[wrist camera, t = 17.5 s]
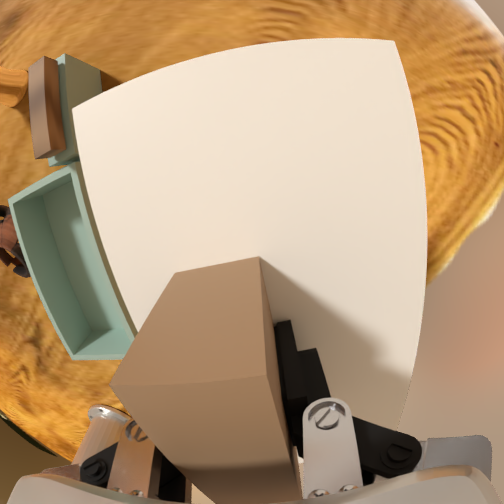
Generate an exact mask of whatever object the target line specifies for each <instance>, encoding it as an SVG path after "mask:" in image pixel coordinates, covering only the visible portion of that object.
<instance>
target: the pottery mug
mask: <svg viewBox="0 0 504 504" xmlns="http://www.w3.org/2000/svg"><path fill="white" fill-rule="evenodd" d="M0 216H2V217H4V219H3V220H0V260H1V261H2V262H3V263H4V264H5V265H6V266H7V267H8V266H9V265H10V263H12V264H14V265H15V266H16V267H15V268H14V269H13V271H14V272H15V273H16V274H18V275H20V276H22V277H26V278H27V277H30V276H31V275H30V272H29V269H28V267H27V264H26V261H25V258H24V256H23V253H22V250H21V246H20V243H17V242H18V237H17V233H16V230H15V226H14V223H13V219H12V215H11V211H10V208H9V207H7V206H3V205H0ZM5 249H6V250H8V251H9V252H11V253H12V254H13V255H14V256H16V257H15V258H13V257H11V256H10V255H9V254H8V253H7V252H6V251H5Z"/></svg>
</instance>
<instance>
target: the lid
mask: <svg viewBox="0 0 504 504" xmlns="http://www.w3.org/2000/svg"><path fill="white" fill-rule="evenodd" d="M72 113H73V120H74V127H75V134H76V140H77V145H78V151H79V156H80V161H81V166H82V171H83V175H84V179H85V184H86V188H87V192H88V196H89V200H90V203H91V207H92V211H93V214H94V218H95V221H96V224H97V228H98V231H99V234H100V237H101V240H102V244H103V247H104V250H105V252H106V255H107V258H108V261H109V264H110V267H111V269H112V272H113V275H114V277H115V280H116V282H117V285H118V288H119V290H120V293H121V295H122V297H123V300H124V302H125V305H126V307H127V309H128V312H129V314H130V316H131V318H132V321H133V323H134V325H135V327H136V329H137V331H138V334H137V335H136V337H135V339H134V341H133V342H132V344H131V346H130V348H129V349H128V351H127V353H126V355H125V356H124V358H123V360H122V362H121V364H120V365H119V367H118V369H117V371H116V373H115V374H114V376H113V378H112V380H111V382H110V384H109V386H110V387H111V389H112V390H113V392H114V393H115V395H116V396H117V397H118V399H119V400H120V402H121V403H122V404H123V406H124V407H125V408H126V410H127V411H128V412H129V414H130V415H131V416H132V418H133V419H134V420H135V422H136V423H137V424H138V425H139V427H140V428H141V429H142V430H143V431H144V433H145V434H146V435H147V436H148V437H149V439H150V440H151V441H152V442H153V443H154V444H155V445H156V447H157V448H158V449H159V450H160V451H161V452H162V453H163V454H164V455H165V457H166V458H167V459H168V460H169V461H170V462H171V463H172V464H173V465H174V466H175V467H176V468H177V469H178V470H179V471H180V472H181V473H182V474H183V475H184V476H185V477H186V478H187V479H188V480H189V481H190V482H191V483H193V484H194V485H195V486H196V487H197V488H198V489H199V490H200V491H201V492H203V493H204V494H205V495H206V496H207V497H208V498H209V499H211V500H212V501H213V502H214V503H215V504H270V503H280V502H289V501H296V500H303V497H302V489H301V481H300V472H299V465H298V463H304V459H303V458H301V457H299V456H298V452H297V447H296V446H294V447H293V444H292V440H291V436H290V432H289V428H288V423H287V419H286V415H285V411H284V407H283V402H282V396H281V387H280V378H279V370H278V361H277V352H276V343H275V335H274V326H277V322H281V321H286V320H291V323H292V328H293V333H294V337H295V342H296V346H297V351H302V350H307V349H311V348H316V349H317V351H318V355H319V358H320V361H321V364H322V368H323V371H324V374H325V378H326V381H327V384H328V388H329V391H330V395H331V398H336V399H340V400H342V401H344V402H345V403H346V404H347V405H348V406H349V408H350V410H351V415H352V416H354V417H357V418H359V419H362V420H365V421H368V422H371V423H373V424H376V425H379V426H382V427H385V428H388V429H391V430H394V431H397V428H398V425H399V422H400V418H401V415H402V412H403V408H404V405H405V401H406V398H407V394H408V390H409V386H410V382H411V378H412V373H413V369H414V364H415V358H416V354H417V348H418V343H419V337H420V330H421V323H422V315H423V307H424V297H425V285H426V269H427V207H426V191H425V180H424V170H423V161H422V154H421V147H420V140H419V134H418V129H417V123H416V118H415V113H414V109H413V104H412V100H411V96H410V92H409V88H408V84H407V80H406V77H405V73H404V70H403V66H402V63H401V60H400V57H399V54H398V51H397V48H396V45H395V42H394V41H389V40H378V39H360V38H322V39H303V40H291V41H281V42H273V43H266V44H259V45H253V46H247V47H241V48H236V49H231V50H226V51H222V52H217V53H213V54H209V55H205V56H201V57H198V58H194V59H190V60H187V61H184V62H180V63H177V64H174V65H171V66H168V67H165V68H162V69H159V70H156V71H153V72H151V73H148V74H145V75H143V76H140V77H138V78H135V79H133V80H130V81H128V82H125V83H123V84H121V85H119V86H116V87H114V88H112V89H110V90H108V91H105V92H103V93H101V94H99V95H97V96H95V97H93V98H91V99H89V100H87V101H85V102H84V103H82V104H80V105H78V106H76V107H74V108H73V109H72Z"/></svg>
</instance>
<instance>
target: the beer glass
mask: <svg viewBox="0 0 504 504" xmlns="http://www.w3.org/2000/svg"><path fill="white" fill-rule="evenodd" d="M28 84H29V74H28V72H27V71H26V70H11V69H7V68H5V67H2V66H1V65H0V104H3V105H5V106H8V107H14V106H16V105H17V104H18V103H19V102H20V101H21V100H22V98H23V97H24V95H25V93H26V91H27V88H28Z"/></svg>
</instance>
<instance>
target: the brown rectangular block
mask: <svg viewBox="0 0 504 504" xmlns="http://www.w3.org/2000/svg"><path fill="white" fill-rule="evenodd" d="M29 110H30V123H31V133H32V141H33V149H34V155H35V159H43V158H51V157H53V156H55V155H57V154H58V153H60V152H62V151H64V150H66V144H65V137H64V131H63V123H62V115H61V106H60V94H59V78H58V61H56V60H54V59H51V58H48V57H46V56H43V57H42V58H41V59H39V60H38V61H37V62H35V63H34V64H33V65H31V66H30V67H29Z"/></svg>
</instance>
